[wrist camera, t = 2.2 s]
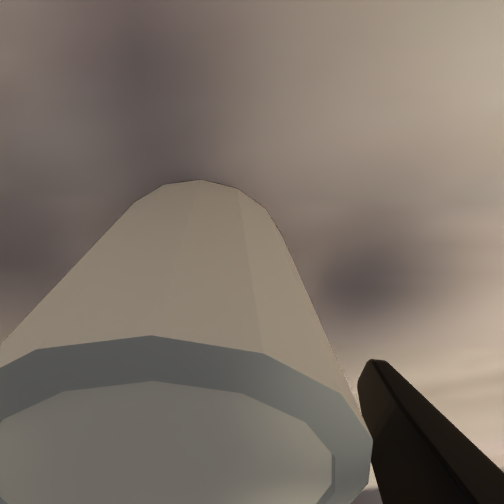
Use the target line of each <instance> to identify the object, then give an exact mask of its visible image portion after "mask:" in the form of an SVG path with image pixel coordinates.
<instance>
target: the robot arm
mask: <svg viewBox="0 0 504 504" xmlns="http://www.w3.org/2000/svg"><path fill="white" fill-rule="evenodd" d="M357 389H358V395H359V401H360V407H361V412H362V417H363V419H364V421H365V424H366V426H367V428H368V430H369V432H370V435H371V437H372V439H373V446H372V454H371V463H372V466H373V470H374V474H375V477H376V481H377V484H378V488H379V492H380V495H381V499H382V502H383V504H504V472H503V471H502V470H501V469H499V468H498V467H497V466H496V465H495V464H494V463H493V462H492V461H491V460H490V459H489V458H488V457H487V456H486V455H485V454H484V453H483V452H482V451H481V450H479V449H478V448H477V447H476V446H475V445H474V444H473V443H472V442H471V441H470V440H469V439H468V438H467V437H466V436H465V435H464V434H463V433H462V432H461V431H459V430H458V429H457V428H456V427H455V426H454V425H453V424H452V423H451V422H450V421H449V420H448V419H447V418H446V417H445V416H444V415H443V414H442V413H441V412H439V411H438V410H437V409H436V408H435V407H434V406H433V405H432V404H431V403H430V402H429V401H428V400H427V399H426V398H425V397H424V396H423V395H422V394H421V393H420V392H418V391H417V390H416V389H415V388H414V387H413V386H412V385H411V384H410V383H409V382H408V381H407V380H406V379H405V378H404V377H403V376H402V375H401V374H400V373H398V372H397V371H396V370H395V369H394V368H393V367H392V366H391V365H390V364H389V363H388V362H386V361H384V360H375V359H370V360H369V361H368V362H367V363H366V365H365V367H364V369H363V371H362V373H361V375H360V377H359V380H358V384H357Z"/></svg>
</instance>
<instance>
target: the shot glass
mask: <svg viewBox="0 0 504 504" xmlns="http://www.w3.org/2000/svg"><path fill="white" fill-rule="evenodd" d="M372 446H373V439H372V437H371V435H370V432H369V430H368V428H367V426H366V424H365V421H364V419H363V417H362V415H361V412H360V410H359V408H358V406H357V403H356V401H355V399H354V397H353V394H352V392H351V390H350V388H349V385H348V383H347V381H346V379H345V376H344V374H343V372H342V370H341V367H340V365H339V363H338V361H337V358H336V356H335V354H334V352H333V350H332V347H331V345H330V343H329V341H328V338H327V336H326V334H325V332H324V329H323V327H322V325H321V323H320V320H319V318H318V316H317V314H316V311H315V309H314V307H313V305H312V302H311V300H310V298H309V296H308V293H307V291H306V289H305V287H304V284H303V282H302V280H301V278H300V276H299V273H298V271H297V269H296V267H295V264H294V262H293V260H292V258H291V255H290V253H289V251H288V249H287V246H286V244H285V242H284V240H283V237H282V235H281V234H280V232H279V230H278V229H277V227H276V225H275V224H274V222H273V220H272V219H271V217H270V215H269V214H268V212H267V210H266V209H265V208H264V207H262V206H261V205H260V204H258V203H257V202H255V201H254V200H253V199H251V198H250V197H248V196H247V195H246V194H244V193H243V192H241V191H240V190H239V189H237V188H233V187H229V186H225V185H220V184H216V183H212V182H208V181H204V180H195V181H187V182H180V183H172V184H165V185H163V186H161V187H159V188H158V189H156V190H154V191H152V192H151V193H149V194H147V195H146V196H144V197H142V198H141V199H139V200H137V201H136V202H134V203H133V204H132V205H131V206H130V207H129V209H128V210H127V211H126V212H125V213H124V214H123V215H122V216H121V217H120V218H119V219H118V220H117V221H116V222H115V223H114V224H113V225H112V227H111V228H110V229H109V230H108V231H107V232H106V233H105V234H104V235H103V236H102V237H101V238H100V239H99V240H98V241H97V242H96V244H95V245H94V246H93V247H92V248H91V249H90V250H89V251H88V252H87V253H86V254H85V255H84V256H83V257H82V258H81V259H80V260H79V262H78V263H77V264H76V265H75V266H74V267H73V268H72V269H71V270H70V271H69V272H68V273H67V274H66V275H65V276H64V277H63V278H62V280H61V281H60V282H59V283H58V284H57V285H56V286H55V287H54V288H53V289H52V290H51V291H50V292H49V293H48V294H47V295H46V296H45V298H44V299H43V300H42V301H41V302H40V303H39V304H38V305H37V306H36V307H35V308H34V309H33V310H32V311H31V312H30V313H29V314H28V316H27V317H26V318H25V319H24V320H23V321H22V322H21V323H20V324H19V325H18V326H17V327H16V328H15V329H14V330H13V331H12V333H11V334H10V335H9V336H8V337H7V338H6V339H5V340H4V341H3V342H2V343H1V344H0V504H350V503H351V502H352V501H353V500H354V499H355V498H356V497H357V495H358V494H359V493H360V492H361V491H362V490H363V489H364V487H365V486H366V485H367V484H368V480H369V471H370V463H371V454H372Z"/></svg>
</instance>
